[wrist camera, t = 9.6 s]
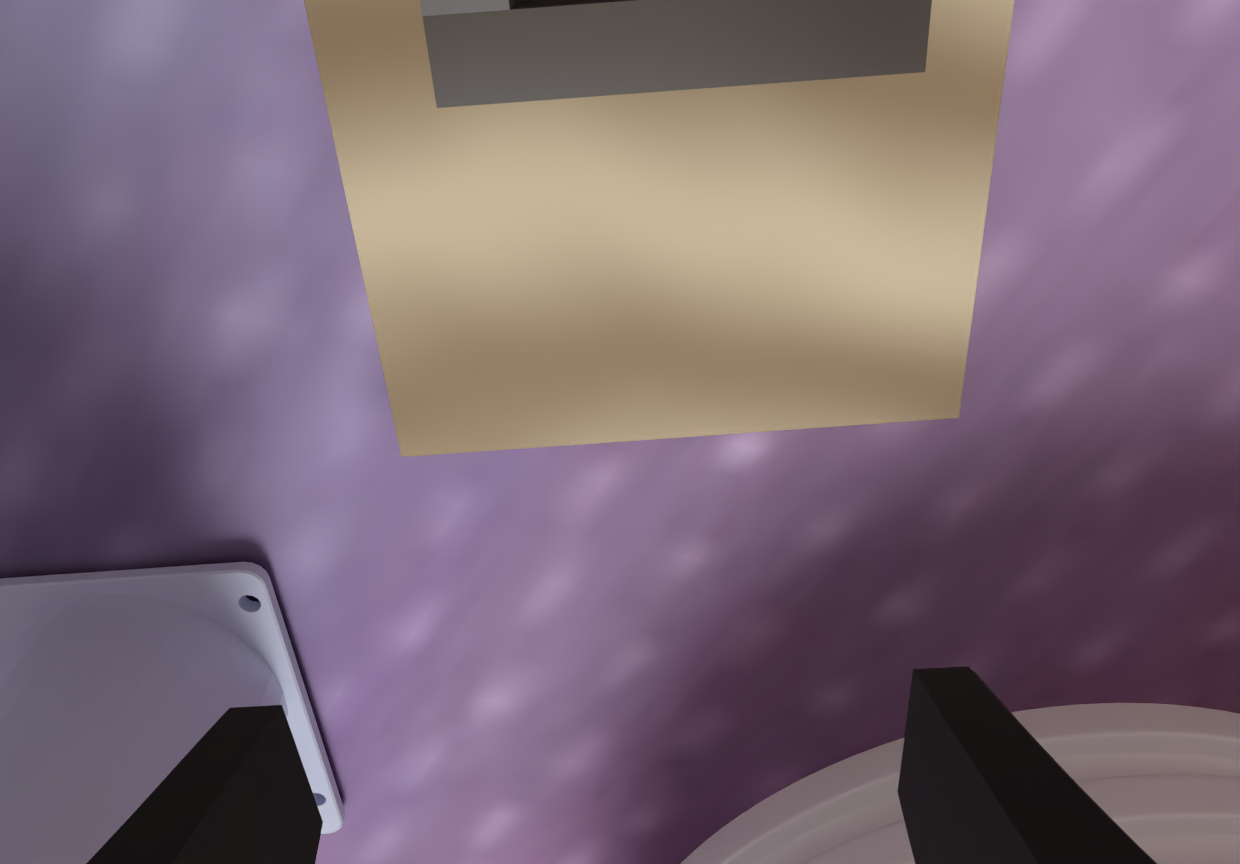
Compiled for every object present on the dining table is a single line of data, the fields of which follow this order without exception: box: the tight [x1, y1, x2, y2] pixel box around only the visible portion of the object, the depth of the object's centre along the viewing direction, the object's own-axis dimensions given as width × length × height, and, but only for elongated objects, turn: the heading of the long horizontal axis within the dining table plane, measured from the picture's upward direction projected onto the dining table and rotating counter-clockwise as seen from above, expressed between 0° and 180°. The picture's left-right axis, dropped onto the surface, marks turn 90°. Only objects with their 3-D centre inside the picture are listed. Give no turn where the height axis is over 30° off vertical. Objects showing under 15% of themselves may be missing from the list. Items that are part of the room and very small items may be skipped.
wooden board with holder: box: [304, 0, 1014, 457], centre depth 15 cm, size 15×12×4 cm
